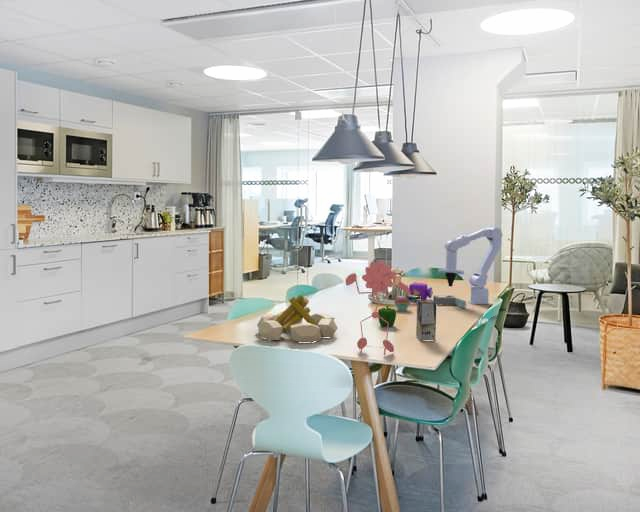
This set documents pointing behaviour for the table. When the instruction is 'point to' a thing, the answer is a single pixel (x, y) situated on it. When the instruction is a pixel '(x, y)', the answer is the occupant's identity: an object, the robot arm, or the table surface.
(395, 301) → the cupcake
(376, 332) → the table surface
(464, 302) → the teal bar
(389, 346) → the figurine
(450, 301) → the camera case
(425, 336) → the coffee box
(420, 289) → the toy camera
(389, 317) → the bell pepper
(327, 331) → the campfire
